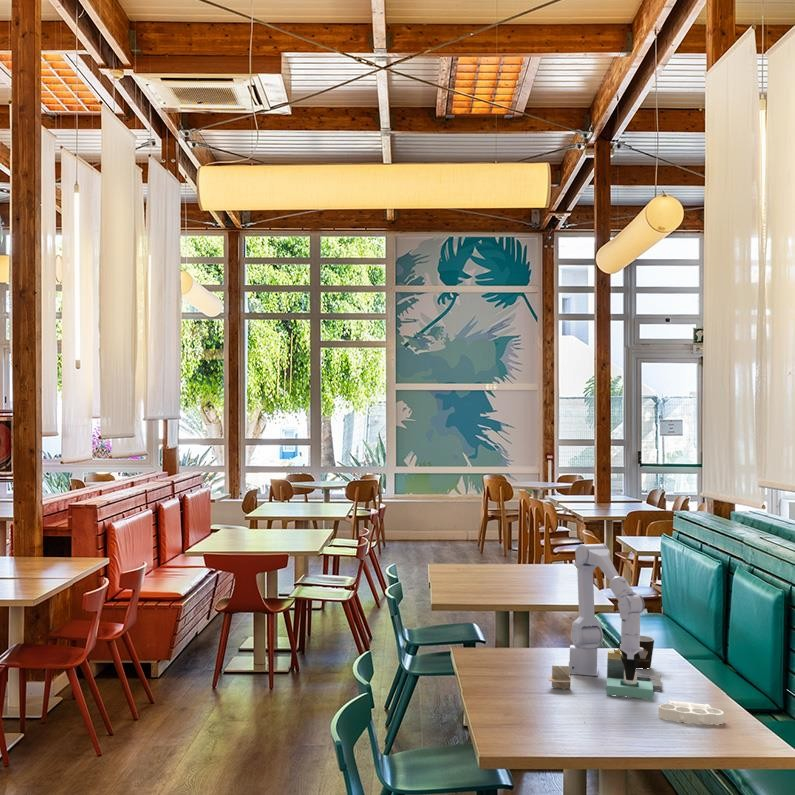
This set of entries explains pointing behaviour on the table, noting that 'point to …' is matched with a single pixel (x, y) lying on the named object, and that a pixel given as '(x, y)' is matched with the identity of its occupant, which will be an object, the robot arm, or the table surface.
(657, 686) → the socket block
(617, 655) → the yellow small block
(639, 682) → the holder
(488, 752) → the table surface
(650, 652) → the coffee mug
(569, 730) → the table surface
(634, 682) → the white upright block
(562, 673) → the architectural model
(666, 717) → the white brass knuckles
